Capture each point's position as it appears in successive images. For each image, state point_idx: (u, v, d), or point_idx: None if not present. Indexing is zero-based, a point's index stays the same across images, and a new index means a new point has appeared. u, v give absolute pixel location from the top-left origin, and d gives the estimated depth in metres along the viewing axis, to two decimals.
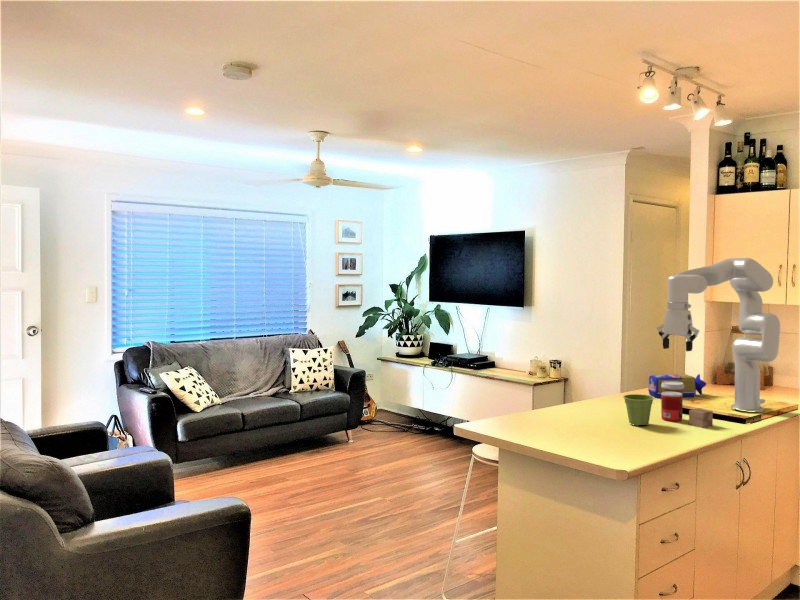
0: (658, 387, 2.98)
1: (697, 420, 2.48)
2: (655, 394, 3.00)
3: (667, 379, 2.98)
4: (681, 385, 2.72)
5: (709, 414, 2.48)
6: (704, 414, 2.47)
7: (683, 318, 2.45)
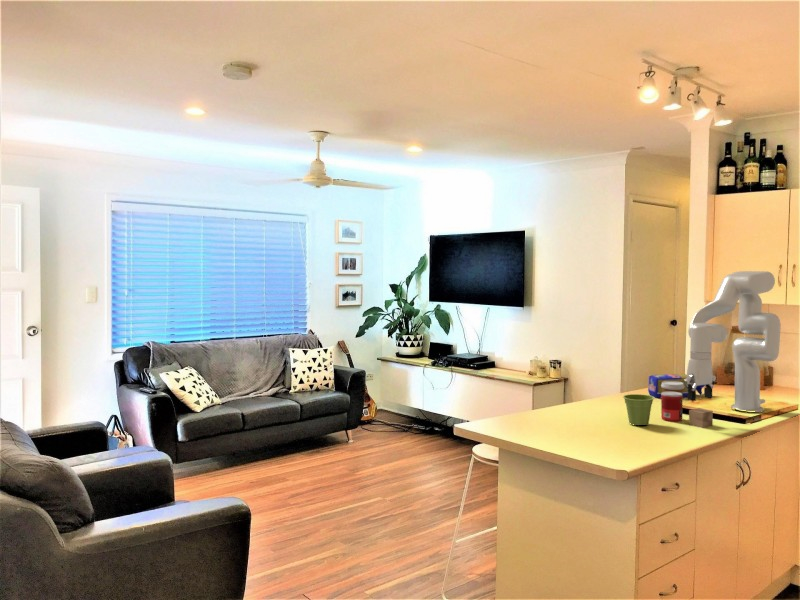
0: (658, 387, 2.98)
1: (697, 420, 2.48)
2: (655, 394, 3.00)
3: (667, 379, 2.98)
4: (681, 385, 2.72)
5: (709, 414, 2.48)
6: (704, 414, 2.47)
7: (711, 367, 2.49)
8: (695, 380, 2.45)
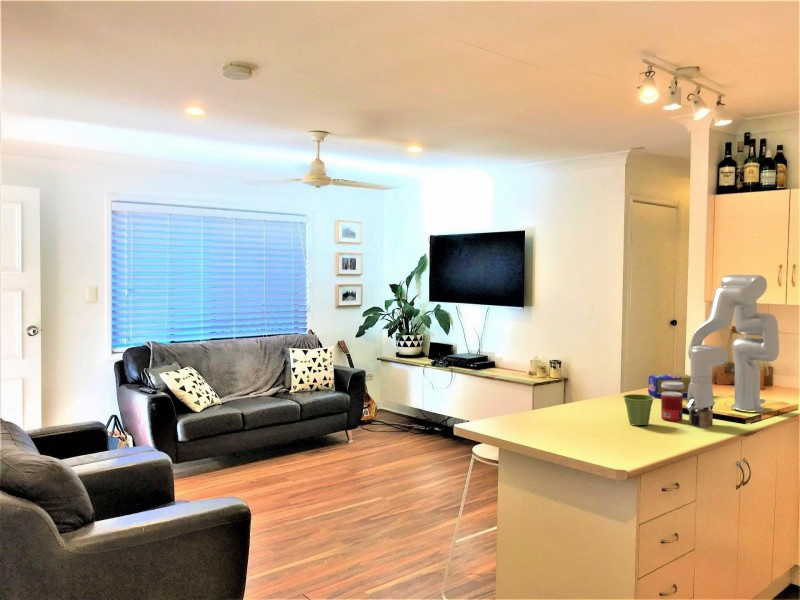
0: (658, 387, 2.98)
1: None
2: (654, 394, 3.00)
3: (666, 379, 2.98)
4: (681, 385, 2.72)
5: (709, 414, 2.48)
6: (704, 414, 2.47)
7: (712, 389, 2.49)
8: (696, 406, 2.46)
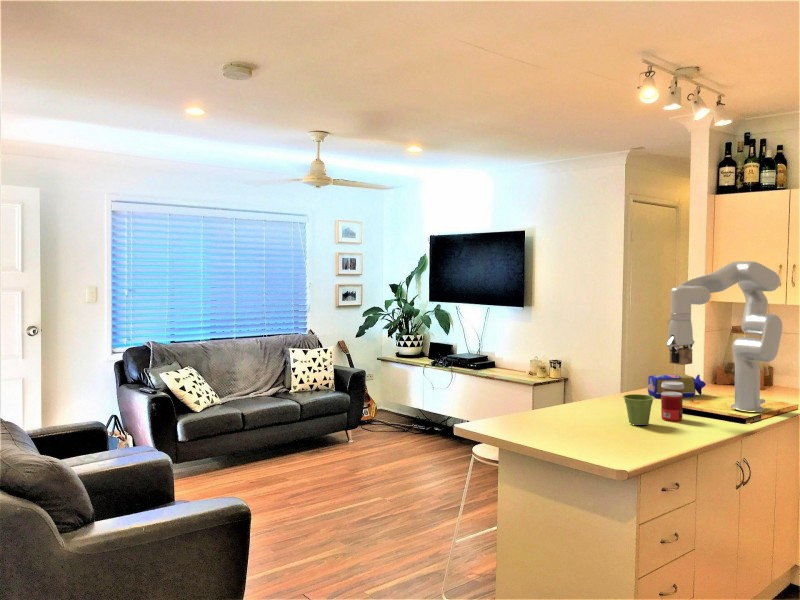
0: (657, 387, 2.98)
1: None
2: (654, 394, 2.99)
3: (666, 379, 2.98)
4: (681, 385, 2.72)
5: (689, 351, 2.53)
6: (684, 351, 2.52)
7: (691, 328, 2.55)
8: (676, 343, 2.51)
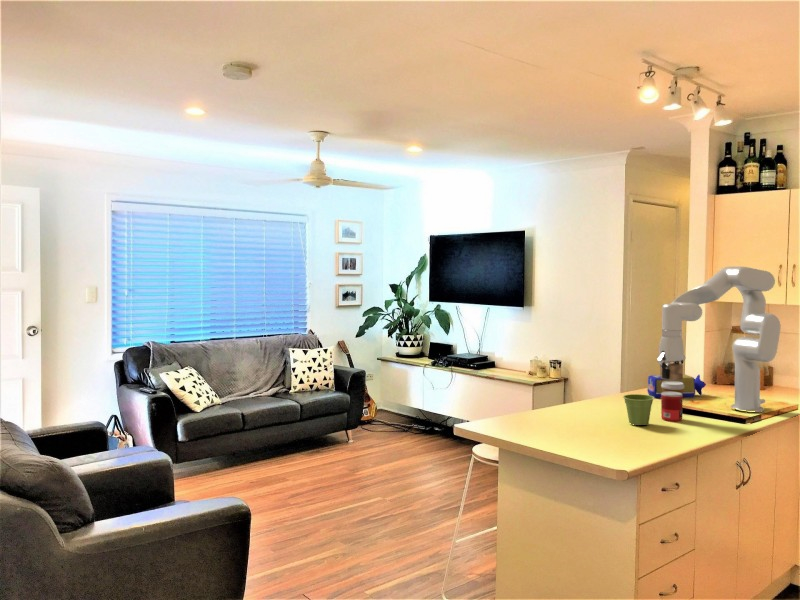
0: (657, 387, 2.98)
1: None
2: (653, 394, 2.99)
3: None
4: (681, 385, 2.72)
5: (679, 367, 2.57)
6: (674, 367, 2.55)
7: (682, 344, 2.58)
8: (667, 359, 2.55)
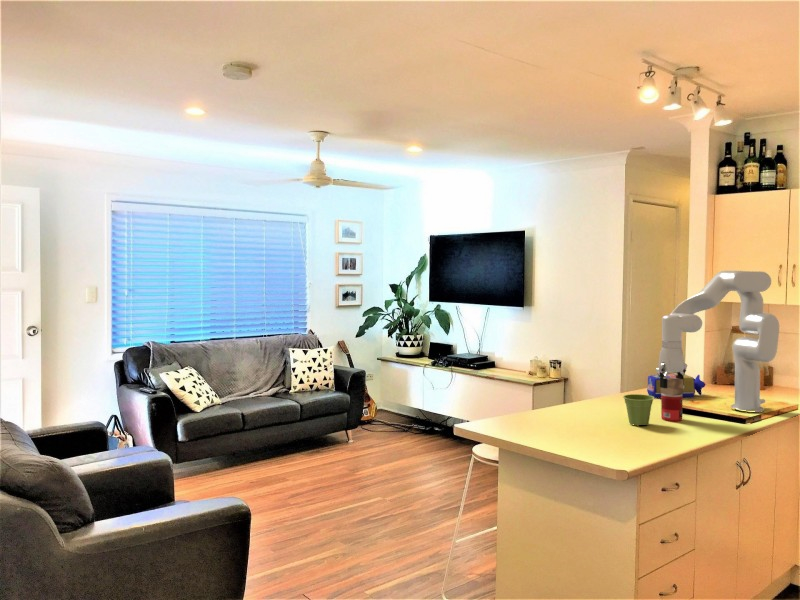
0: (656, 387, 2.98)
1: (668, 388, 2.57)
2: (653, 394, 2.99)
3: None
4: None
5: (680, 382, 2.57)
6: (675, 382, 2.56)
7: (682, 355, 2.58)
8: (666, 368, 2.55)
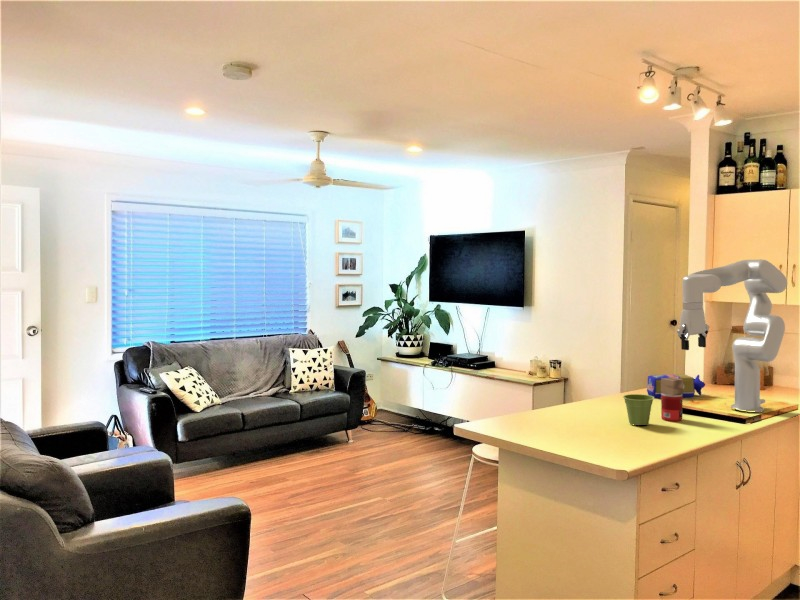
0: (656, 387, 2.98)
1: (668, 388, 2.57)
2: (653, 394, 2.99)
3: None
4: None
5: (680, 382, 2.57)
6: (675, 382, 2.56)
7: (704, 316, 2.55)
8: (688, 330, 2.52)
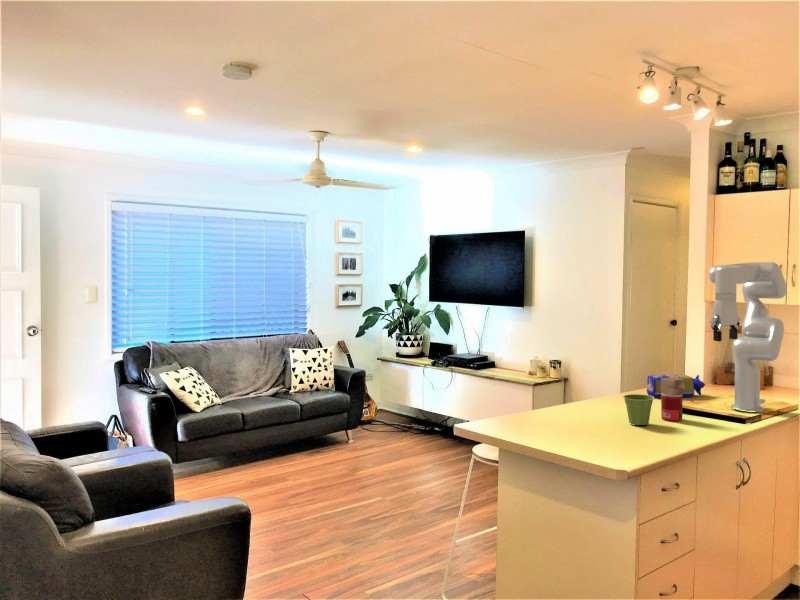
0: (656, 388, 2.98)
1: (668, 388, 2.57)
2: (652, 394, 2.99)
3: None
4: None
5: (680, 382, 2.57)
6: (675, 382, 2.56)
7: (736, 308, 2.51)
8: (721, 321, 2.48)
